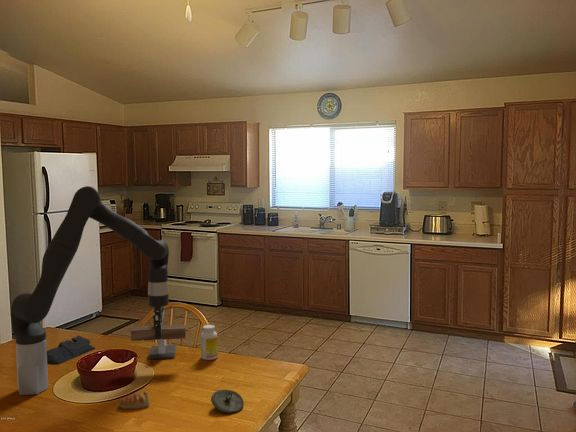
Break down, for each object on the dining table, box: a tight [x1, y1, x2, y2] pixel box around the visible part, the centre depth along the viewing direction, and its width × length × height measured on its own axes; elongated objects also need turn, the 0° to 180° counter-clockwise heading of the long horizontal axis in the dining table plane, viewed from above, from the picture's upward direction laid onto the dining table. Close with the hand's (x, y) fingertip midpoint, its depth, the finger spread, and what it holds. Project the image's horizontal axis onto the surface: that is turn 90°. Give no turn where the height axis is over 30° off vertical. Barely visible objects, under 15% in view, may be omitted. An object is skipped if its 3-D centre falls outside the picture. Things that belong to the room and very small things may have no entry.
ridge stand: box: [148, 339, 177, 360], centre depth 201 cm, size 10×10×10 cm
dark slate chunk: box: [47, 335, 96, 365], centre depth 202 cm, size 15×22×5 cm
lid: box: [210, 389, 245, 415], centre depth 155 cm, size 11×10×5 cm
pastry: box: [118, 390, 151, 410], centre depth 156 cm, size 9×7×4 cm
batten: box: [130, 324, 187, 342], centre depth 187 cm, size 4×20×4 cm, turn 99°
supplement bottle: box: [200, 324, 219, 361], centre depth 197 cm, size 7×7×13 cm
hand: (158, 336), depth 187 cm, fingers closed on batten, 4 cm apart
